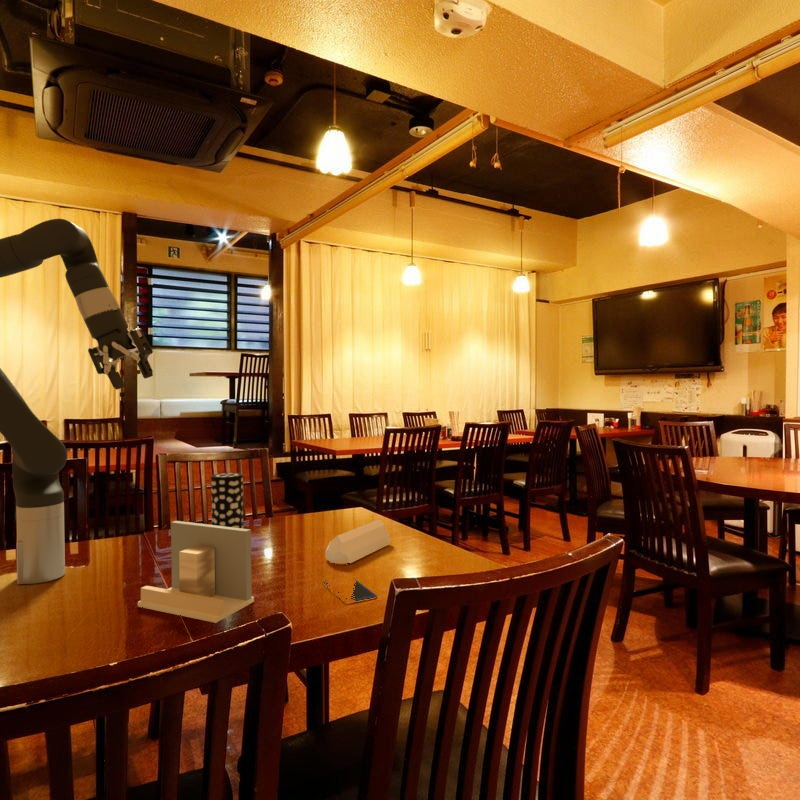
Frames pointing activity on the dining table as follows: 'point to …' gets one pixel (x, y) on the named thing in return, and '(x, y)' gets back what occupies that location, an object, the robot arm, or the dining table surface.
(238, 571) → the cleat board
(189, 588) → the birch block
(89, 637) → the dining table surface
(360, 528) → the white beveled bar
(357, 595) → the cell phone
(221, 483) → the spotted tube
